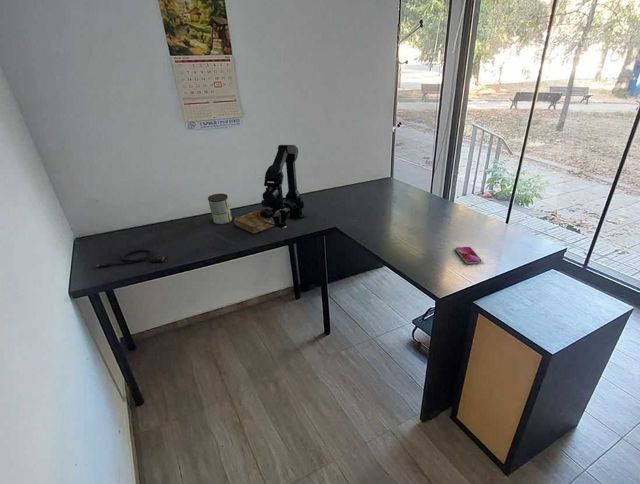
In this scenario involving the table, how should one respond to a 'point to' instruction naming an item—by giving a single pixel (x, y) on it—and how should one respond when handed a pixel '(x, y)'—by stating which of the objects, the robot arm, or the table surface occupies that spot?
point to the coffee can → (220, 208)
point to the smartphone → (468, 255)
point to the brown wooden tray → (252, 222)
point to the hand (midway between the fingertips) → (280, 225)
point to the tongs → (281, 224)
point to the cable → (154, 259)
